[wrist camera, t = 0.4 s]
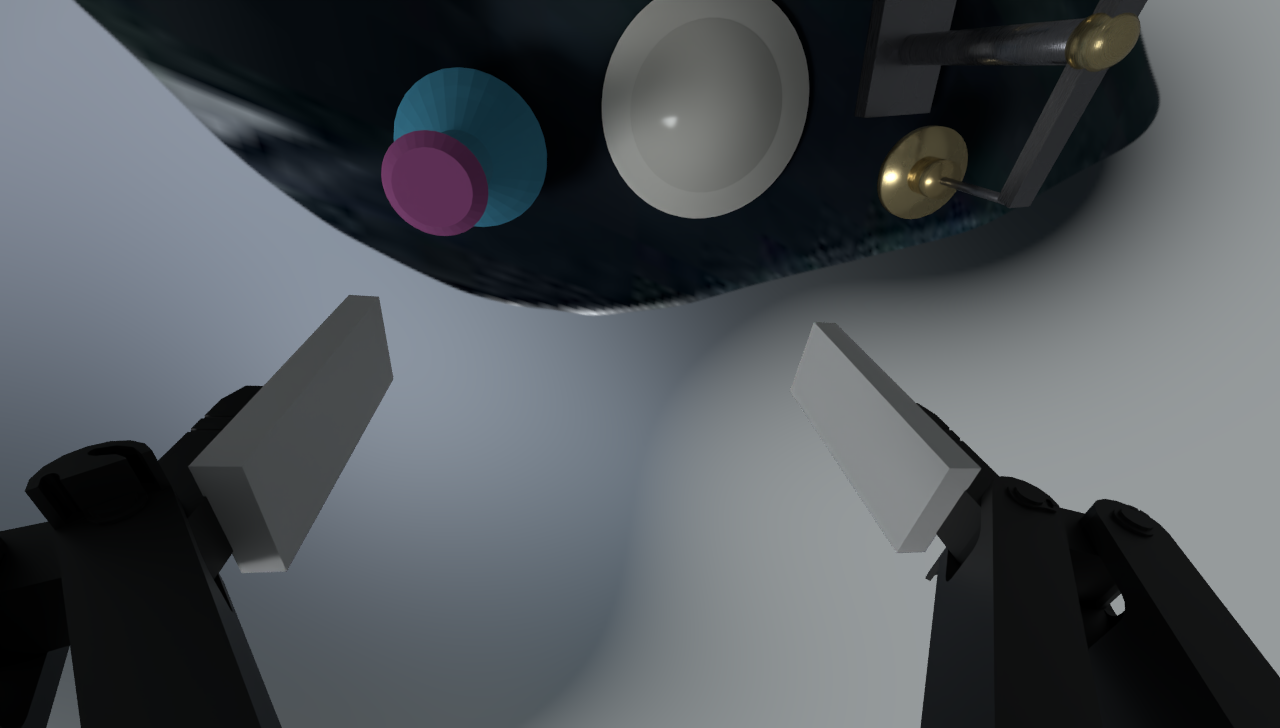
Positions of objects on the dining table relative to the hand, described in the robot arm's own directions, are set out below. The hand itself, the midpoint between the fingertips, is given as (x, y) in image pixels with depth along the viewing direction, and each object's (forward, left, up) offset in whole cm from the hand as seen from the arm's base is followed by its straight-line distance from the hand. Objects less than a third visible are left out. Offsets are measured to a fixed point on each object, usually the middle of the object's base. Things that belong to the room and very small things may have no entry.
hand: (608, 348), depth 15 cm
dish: (-4, +9, -25) cm, 27 cm away
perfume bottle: (-3, -7, -26) cm, 27 cm away
